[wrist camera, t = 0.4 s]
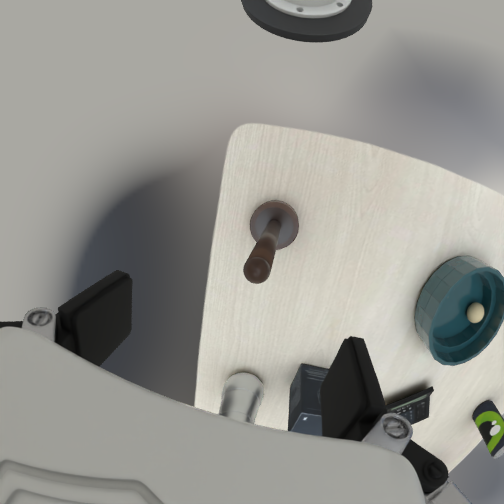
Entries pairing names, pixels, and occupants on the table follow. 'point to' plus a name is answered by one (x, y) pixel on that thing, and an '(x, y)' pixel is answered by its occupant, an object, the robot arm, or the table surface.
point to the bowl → (459, 309)
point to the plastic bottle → (241, 397)
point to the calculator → (413, 406)
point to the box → (306, 401)
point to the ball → (475, 312)
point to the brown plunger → (269, 237)
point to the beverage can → (490, 427)
